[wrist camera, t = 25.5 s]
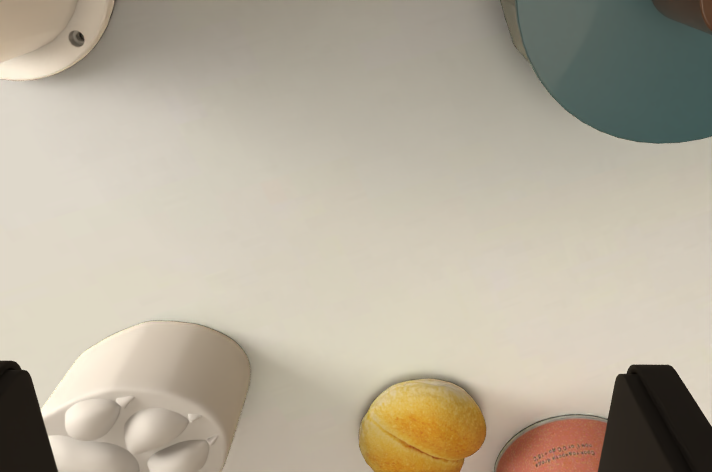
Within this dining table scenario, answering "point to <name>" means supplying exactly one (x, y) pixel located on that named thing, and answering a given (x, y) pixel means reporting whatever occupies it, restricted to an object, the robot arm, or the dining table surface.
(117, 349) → the lumpy-topped squat cylinder
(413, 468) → the bread roll
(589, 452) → the canned food
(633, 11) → the lid
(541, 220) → the dining table surface
